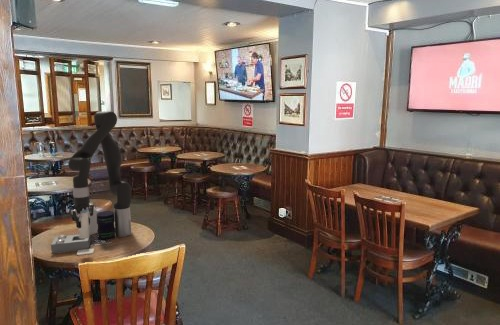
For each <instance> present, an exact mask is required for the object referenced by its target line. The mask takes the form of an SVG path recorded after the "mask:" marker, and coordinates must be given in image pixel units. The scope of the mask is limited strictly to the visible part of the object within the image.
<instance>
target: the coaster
mask: <svg viewBox="0 0 500 325" xmlns="http://www.w3.org/2000/svg"><path fill="white" fill-rule="evenodd" d="M94 252H95V248H89V249H84V250H78V251H77V252H76V256H77V255H78V256H84V255H85V254H86V255H93V254H94Z"/></svg>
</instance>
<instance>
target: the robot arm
mask: <svg viewBox="0 0 500 325" xmlns="http://www.w3.org/2000/svg"><path fill="white" fill-rule="evenodd" d="M93 119H94V125H95V128H96V131H93V133H92V134H90V135H89V136H88V137H87V138H86V139H85V140H84V142H83V143H82V146H81V147H80V149H78V150H77V151H76V152H75V153H74V154H73V155H72V156H71V157H70V158H69V160H68V165H67V166H68V168H69V170H72V171H73V172H78V175H77V174H76V175H74V176H73V177H72V183H73V184H72V185H73V186H72V187H73V190H72V191H73V192H72V194H73V205H74V209H73V210H69V213H70V217H71V220H72V221H73V222H75V225H76V228H77V229H78V228H81V217H82V212H81V213H80V211H84V210H87V209H88V221H89V225H90V217H91V216H93V210H94V206H95V205H94V204H93V205H91V204H90V205H89V203H91V202H90V201H91V200H90V188H89V180H88V179H89V174H90V170H91V163H90V162H91V161H90V160H89V158H92V157H94V154H95V152H96V151H97V149H98V148H99V146H100V144H101V148H102V153H103V157H104V161H105V165H106V166H105V167H106V171H107V174H108V183H109V184H108V185H109V190H110V192H111V193H110V194H112V195H113V196H115V197H117V200H116V202H114V203H113V212H114V220H115V222H114V227H115V237H116V238H125V237H130V236H132V221H131V220H132V218H131V202H132V188H131V187H132V186H131V184H130V183H129V182H127V181H123V180H122V177H121V173H120V172H121V171H120V170H121V166H122V161H123V160H122V159H123V158H122V154H121V150H120V147H119V145H118V144H117V143H116V141H115V139H113V138H112V136H111V133H110V132H111V131H112V130H113V129H114V128H115V126H116V125H117V122H118V116H117V114H116V113H115V112H114V111H110V110H108V111H107V110H106V111H97V112H95V114H94V118H93ZM90 212H91V213H90ZM77 213H78V214H80V215H77ZM78 217H79V219H78Z"/></svg>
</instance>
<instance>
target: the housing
mask: <svg viewBox="0 0 500 325" xmlns="http://www.w3.org/2000/svg"><path fill="white" fill-rule="evenodd" d="M57 240H60V239H59V236H54V238H53V240H52V242H51V244H50V248H51V249H50V250H51V254H59V253H68V252H76V251H77V252H78V250H84V249H90V244H91V243H92V242H91V235H90V233H89V237H88V238H84V239H80V238H79V234H70V235H65V239H63V243H59V244H57Z"/></svg>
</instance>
